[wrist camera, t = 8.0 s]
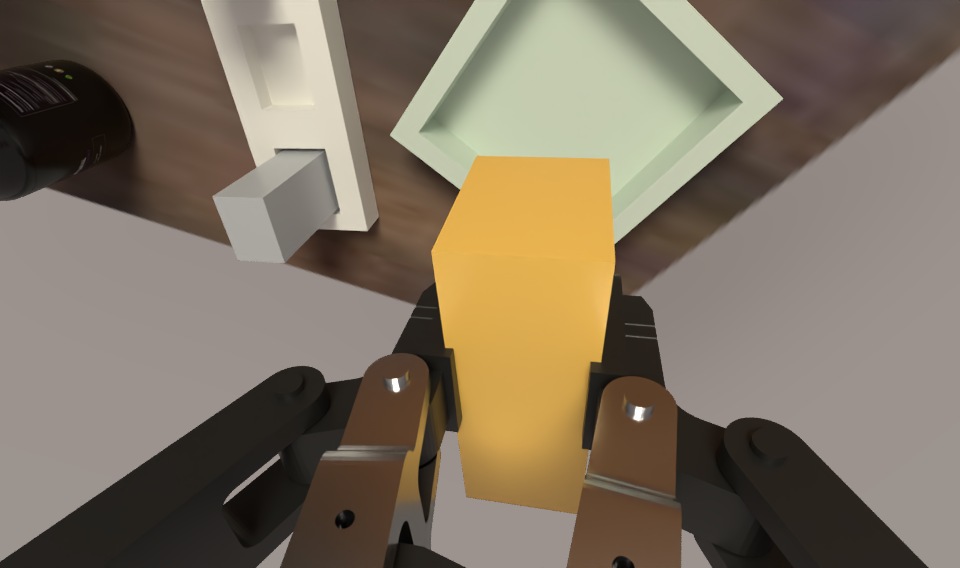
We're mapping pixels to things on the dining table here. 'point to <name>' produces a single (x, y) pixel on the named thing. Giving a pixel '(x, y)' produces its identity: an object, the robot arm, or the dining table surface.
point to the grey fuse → (278, 205)
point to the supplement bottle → (56, 125)
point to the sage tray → (587, 94)
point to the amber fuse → (526, 320)
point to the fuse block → (297, 91)
